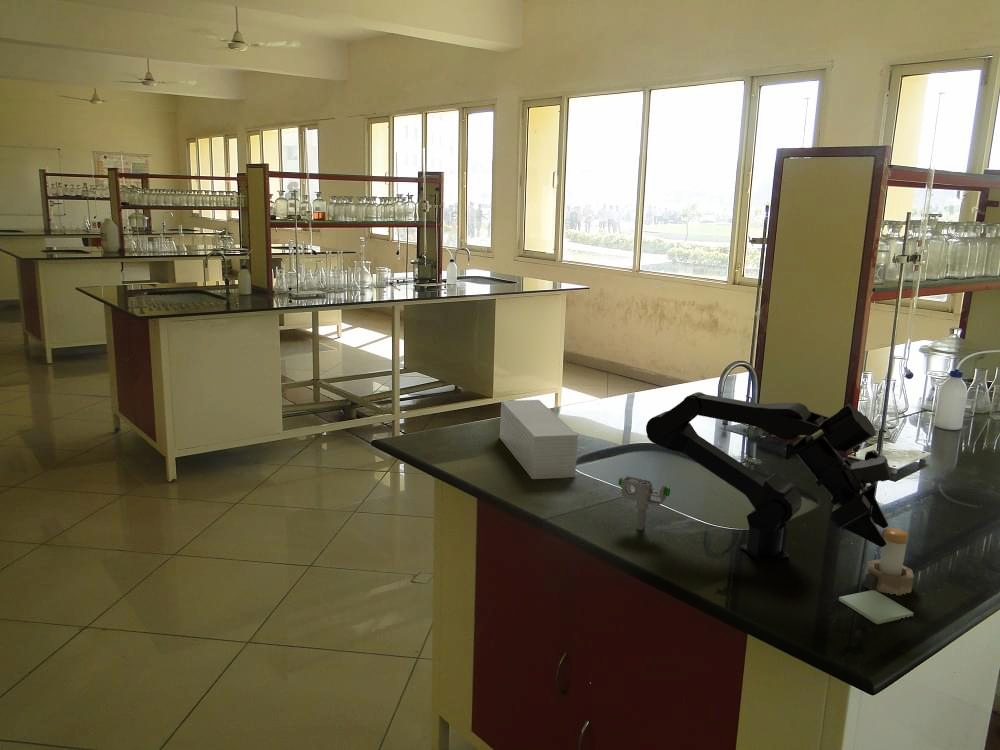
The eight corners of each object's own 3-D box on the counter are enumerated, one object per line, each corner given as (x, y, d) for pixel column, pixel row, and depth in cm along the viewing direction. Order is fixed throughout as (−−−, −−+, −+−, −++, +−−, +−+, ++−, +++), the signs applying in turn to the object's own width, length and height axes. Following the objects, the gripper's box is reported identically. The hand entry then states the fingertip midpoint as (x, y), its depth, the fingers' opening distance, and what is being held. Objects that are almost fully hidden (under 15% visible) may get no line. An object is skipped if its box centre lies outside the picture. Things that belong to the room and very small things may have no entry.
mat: (876, 624, 125) (877, 620, 125) (838, 600, 132) (839, 596, 132) (913, 616, 128) (913, 612, 128) (873, 592, 135) (874, 589, 135)
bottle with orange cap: (888, 591, 136) (897, 538, 133) (871, 581, 139) (879, 529, 137) (904, 588, 137) (913, 535, 135) (886, 578, 141) (895, 526, 138)
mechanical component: (662, 537, 154) (667, 489, 152) (614, 525, 159) (617, 478, 156) (667, 532, 156) (671, 485, 154) (619, 520, 161) (622, 474, 159)
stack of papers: (499, 438, 213) (501, 400, 210) (536, 437, 215) (538, 399, 213) (532, 480, 182) (534, 436, 180) (575, 478, 185) (578, 434, 183)
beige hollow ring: (884, 598, 133) (887, 582, 132) (851, 579, 140) (853, 563, 139) (919, 591, 136) (922, 575, 136) (886, 572, 143) (888, 557, 142)
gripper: (862, 454, 127) (927, 532, 125) (868, 427, 144) (926, 495, 141) (805, 489, 133) (866, 565, 130) (817, 459, 149) (872, 526, 146)
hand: (885, 536), depth 137 cm, fingers open, 9 cm apart
